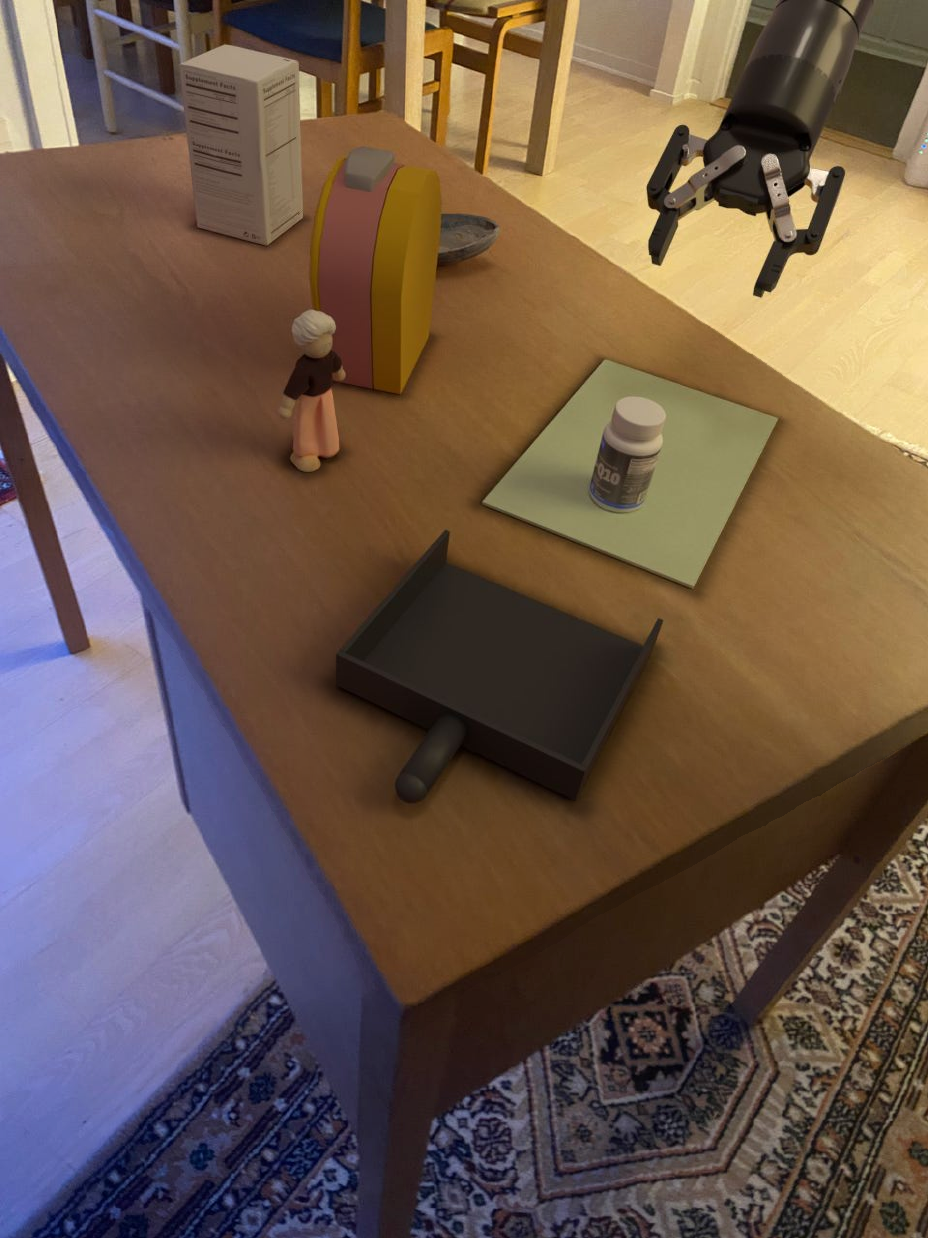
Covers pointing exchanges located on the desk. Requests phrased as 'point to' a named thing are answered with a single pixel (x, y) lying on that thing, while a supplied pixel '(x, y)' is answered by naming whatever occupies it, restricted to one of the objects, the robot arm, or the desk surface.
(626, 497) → the pill bottle
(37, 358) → the desk surface
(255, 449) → the desk surface
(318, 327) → the grandmother figurine
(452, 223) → the grey shallow oval dish
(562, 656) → the dustpan
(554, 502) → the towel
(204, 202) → the supplement box
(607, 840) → the desk surface
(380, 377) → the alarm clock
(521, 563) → the desk surface
